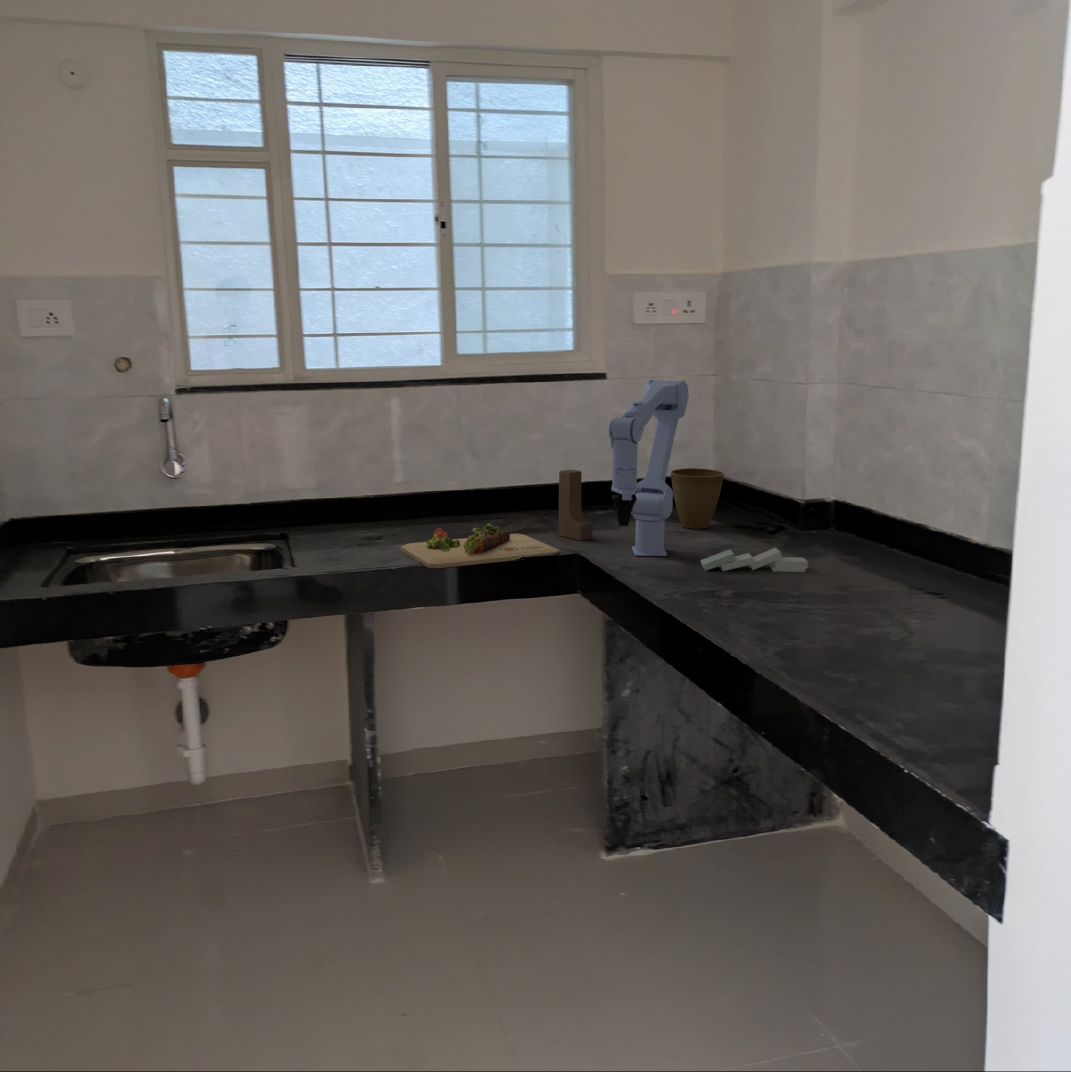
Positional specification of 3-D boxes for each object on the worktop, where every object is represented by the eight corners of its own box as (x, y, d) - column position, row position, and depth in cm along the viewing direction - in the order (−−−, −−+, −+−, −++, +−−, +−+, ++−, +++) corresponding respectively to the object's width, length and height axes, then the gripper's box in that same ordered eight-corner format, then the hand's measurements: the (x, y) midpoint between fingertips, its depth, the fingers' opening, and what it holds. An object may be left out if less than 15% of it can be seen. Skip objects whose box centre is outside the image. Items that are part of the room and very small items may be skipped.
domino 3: (746, 559, 236) (775, 547, 235) (748, 565, 236) (778, 553, 235) (750, 564, 231) (780, 551, 231) (752, 570, 232) (782, 557, 231)
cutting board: (430, 571, 231) (429, 540, 230) (398, 551, 252) (398, 523, 251) (562, 557, 246) (562, 528, 245) (522, 540, 267) (522, 512, 266)
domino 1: (700, 560, 235) (729, 549, 234) (702, 566, 235) (732, 555, 234) (703, 564, 230) (733, 553, 230) (705, 570, 231) (735, 559, 230)
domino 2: (717, 560, 235) (748, 553, 235) (719, 566, 235) (749, 559, 235) (721, 564, 230) (752, 557, 230) (722, 571, 231) (754, 563, 231)
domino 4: (771, 557, 235) (802, 557, 235) (771, 563, 235) (802, 564, 235) (776, 561, 230) (808, 561, 230) (775, 568, 231) (807, 568, 231)
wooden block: (592, 538, 265) (593, 472, 262) (580, 541, 263) (581, 474, 259) (569, 533, 272) (570, 469, 268) (557, 535, 269) (558, 470, 266)
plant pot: (659, 524, 286) (660, 469, 282) (702, 520, 292) (704, 467, 288) (687, 534, 272) (689, 476, 269) (732, 529, 279) (734, 473, 275)
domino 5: (770, 563, 235) (802, 564, 234) (769, 570, 235) (801, 571, 235) (772, 568, 231) (805, 568, 230) (772, 574, 231) (805, 575, 230)
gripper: (645, 472, 223) (643, 531, 226) (638, 464, 237) (637, 519, 240) (614, 472, 223) (613, 531, 226) (609, 464, 237) (608, 519, 240)
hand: (623, 525), depth 233 cm, fingers closed
